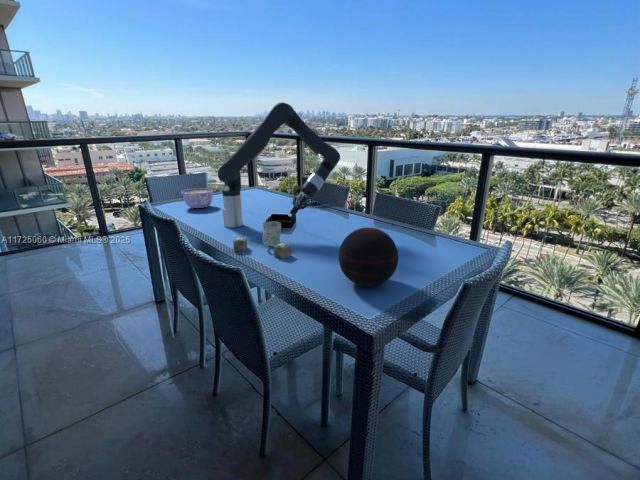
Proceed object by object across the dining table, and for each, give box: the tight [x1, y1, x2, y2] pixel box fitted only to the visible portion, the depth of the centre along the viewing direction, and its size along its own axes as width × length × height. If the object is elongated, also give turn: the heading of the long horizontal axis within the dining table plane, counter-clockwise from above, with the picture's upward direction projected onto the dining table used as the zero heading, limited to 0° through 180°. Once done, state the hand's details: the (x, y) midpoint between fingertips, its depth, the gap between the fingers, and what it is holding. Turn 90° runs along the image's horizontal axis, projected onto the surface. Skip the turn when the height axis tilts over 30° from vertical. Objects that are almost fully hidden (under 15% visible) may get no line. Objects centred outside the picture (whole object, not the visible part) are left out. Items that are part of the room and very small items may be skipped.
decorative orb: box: [338, 227, 399, 288], centre depth 111 cm, size 20×20×20 cm
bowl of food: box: [181, 187, 214, 209], centre depth 217 cm, size 20×20×12 cm
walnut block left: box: [232, 236, 248, 253], centre depth 145 cm, size 5×5×5 cm
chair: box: [291, 172, 315, 204], centre depth 229 cm, size 13×17×22 cm
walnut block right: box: [273, 242, 292, 260], centre depth 137 cm, size 5×5×5 cm
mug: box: [262, 220, 282, 248], centre depth 148 cm, size 8×13×10 cm, turn 161°
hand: (291, 214), depth 152 cm, fingers closed
